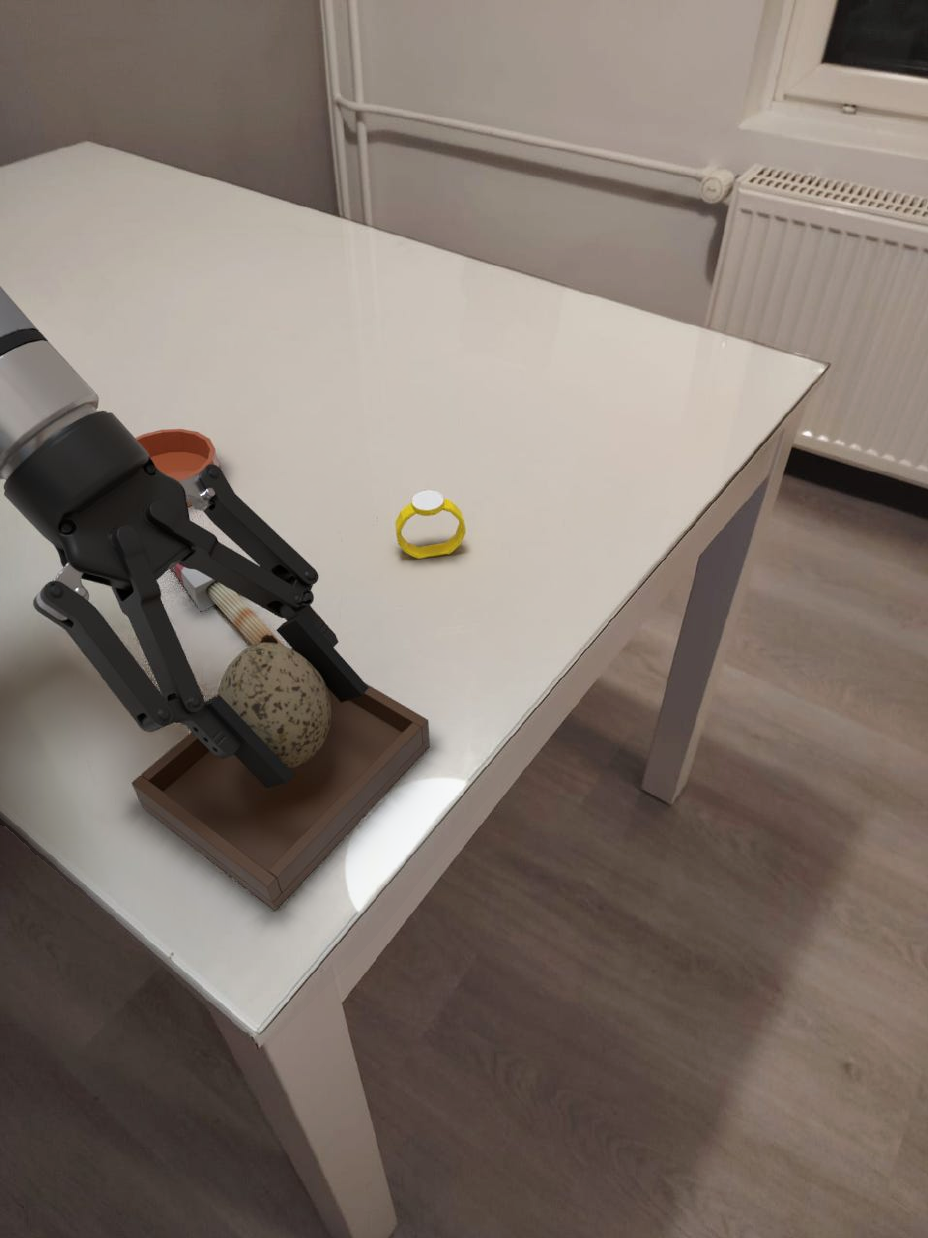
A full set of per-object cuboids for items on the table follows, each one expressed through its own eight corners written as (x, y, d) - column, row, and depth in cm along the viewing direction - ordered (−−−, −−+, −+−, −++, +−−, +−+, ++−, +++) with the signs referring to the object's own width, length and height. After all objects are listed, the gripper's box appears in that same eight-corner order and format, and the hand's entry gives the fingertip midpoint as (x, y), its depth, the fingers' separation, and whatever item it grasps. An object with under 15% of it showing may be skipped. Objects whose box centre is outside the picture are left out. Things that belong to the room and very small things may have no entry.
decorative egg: (274, 816, 55) (245, 717, 48) (209, 752, 59) (174, 651, 51) (359, 749, 59) (344, 648, 52) (293, 693, 62) (271, 592, 55)
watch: (462, 539, 79) (461, 485, 75) (467, 559, 77) (467, 505, 73) (396, 546, 78) (392, 493, 74) (400, 566, 76) (396, 513, 72)
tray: (275, 911, 53) (267, 887, 51) (142, 808, 59) (130, 782, 57) (430, 745, 62) (428, 719, 60) (302, 669, 68) (297, 642, 66)
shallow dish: (111, 514, 82) (101, 488, 80) (130, 456, 88) (122, 431, 86) (214, 509, 82) (207, 483, 80) (225, 451, 89) (219, 426, 87)
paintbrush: (182, 508, 77) (302, 640, 67) (188, 531, 79) (305, 663, 69) (141, 525, 75) (258, 664, 65) (149, 548, 77) (263, 687, 67)
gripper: (157, 395, 58) (377, 649, 63) (-116, 567, 46) (186, 863, 51) (199, 339, 52) (436, 623, 58) (-99, 519, 40) (238, 857, 46)
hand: (318, 736), depth 55 cm, fingers closed on decorative egg, 7 cm apart
